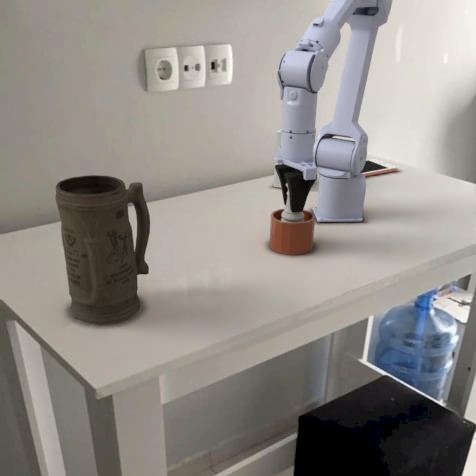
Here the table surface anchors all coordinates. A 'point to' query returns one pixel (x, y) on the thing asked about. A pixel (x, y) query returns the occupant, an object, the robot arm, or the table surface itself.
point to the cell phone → (377, 167)
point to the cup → (291, 234)
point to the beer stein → (102, 246)
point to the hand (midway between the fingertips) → (293, 208)
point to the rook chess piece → (288, 215)
